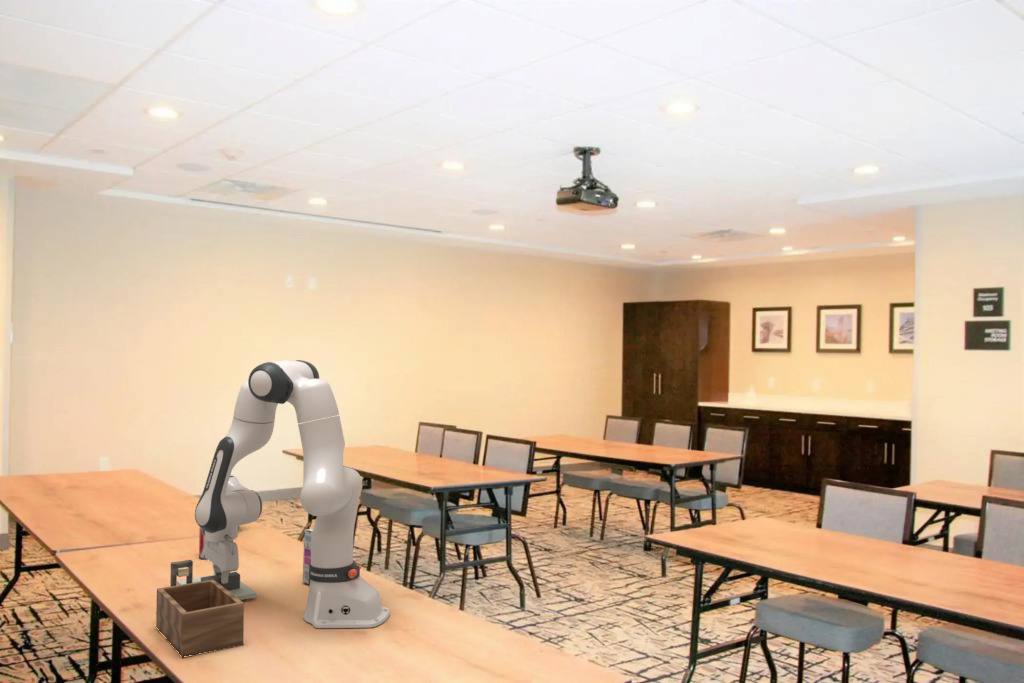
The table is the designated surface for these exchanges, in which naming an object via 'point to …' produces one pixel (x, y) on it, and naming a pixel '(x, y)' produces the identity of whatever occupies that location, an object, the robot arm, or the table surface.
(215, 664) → the table surface
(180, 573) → the light wooden beam
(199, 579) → the lid
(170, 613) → the toolbox
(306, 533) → the candy bar box
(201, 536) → the soda can
